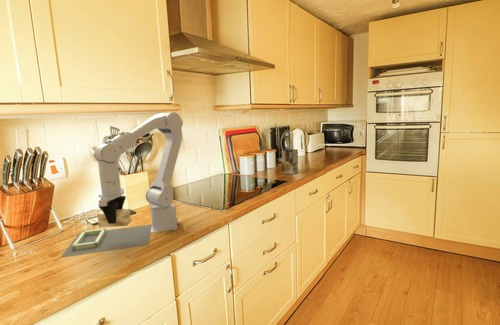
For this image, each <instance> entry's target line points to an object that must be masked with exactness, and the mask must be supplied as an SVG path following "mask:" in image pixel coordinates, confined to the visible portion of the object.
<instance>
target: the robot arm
mask: <svg viewBox="0 0 500 325" xmlns="http://www.w3.org/2000/svg"><path fill="white" fill-rule="evenodd" d="M183 124H184V121H183V119H182V118H181V116H180V113H179V114H178V112H174V111H172V112H158V113H156V114H154V115H152V116H151V117H150V118H148V119H147V120H145V121H144V122H143V123H141V124H140V125H138V126H137V127H135V128H134V129H133V130H131V131H130V130H129V131H128V130H124V131H123V130H121V131H119V132H118V135H116V136H115V137H113V138H111V139H107V140H106V141H105V142H106V143H101V144H98V145H97V146H96V148H95V149H94V151H93V152H94V153H93V157H94V158H95V160H96V161H97V166H98V173H99V174H98V175H99V183H100V188H101V190H100V191H101V193H100V194H98V197H99V198H100V199H99V200H98V208H99V209H100V210H101V211H103V213H104V214H105V216H106V219H107V221H108V223H109V224H114V223H116V211H117V209H124V203H125V200H126V198H127V197H126V195H124V194H125V190H124V188H123V187H122V186H121V178H120V170H119V163H118V161H119V159H120V157H121V156H122V154H123V155H124V154H125V153H126V152H127V151H129V150H130V149H131V148H133V147H135V146H136V145H137V141H138V140H139V139H141V138H142V137H144V136H146V135H148V134H149V133H151V132H152V131H154V130H158V131H159V132H161V133H162V135H163V136H164V137H165V139H166V141H165V146H164V149H163V151H162V152H163V153H162V156H161V160H160V162H159V166H158V171H157V174H156V178H155V179H154V180H152V182H151V183H150V186H149V188H148V189H147V190H146V192H145V201H147V202H148V203H149V207H150V208H149V209H150V218H151V225H152V228H151V234H153V233H160V232H167V231H175V230H178V223H179V221H178V220H179V219H178V217H177V216H178V215H177V208H176V207H177V206H176V204H173V201H174V190H175V189H174V186H173V185H172V183H171V182H172V178H173V174H174V171H175V168H176V163H177V160H178V156H179V152H180V148H181V146H182V141H183V131H182V127H183Z"/></svg>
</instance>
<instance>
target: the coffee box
mask: <svg viewBox="0 0 500 325" xmlns="http://www.w3.org/2000/svg"><path fill="white" fill-rule="evenodd" d="M298 153H299V152H298V149H293V148H285V149H282V150H281V162H282V163H281V165H282V166H281V168H282V169H281V170H282V174H286V173H289V174H288V175H296V174H298V173H299V160H298V159H299V158H298V156H299V155H298ZM295 173H296V174H295Z"/></svg>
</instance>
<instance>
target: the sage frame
mask: <svg viewBox="0 0 500 325" xmlns="http://www.w3.org/2000/svg"><path fill="white" fill-rule="evenodd" d="M106 230H107V228H100V229H98V228H97V229H93V230H92V229H91V230H85V231H84V230H83V231H82V232H81V233H80V234H81V235H80V236H79V237H78V239H77V240H76V241H75V242H74V244H73V245H72V250H79V249H86V248H93V247H98V246H99V244H100V242H101V241H102V239H103V237H104V235H105V234H106ZM97 234H99V236H98V237H97V239H96V241H95V242H89V243H82V244H80V243H81V242H82V241H83V239H84V238H85V236H89V235H97Z"/></svg>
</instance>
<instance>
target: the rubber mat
mask: <svg viewBox="0 0 500 325" xmlns="http://www.w3.org/2000/svg"><path fill="white" fill-rule="evenodd" d="M151 228H152V224H145V225H144V224H143V225H137V226H129V227H122V228H114V229H106V234H105V235H104V237H103V239H102V241H101V242H100V244H99V246H98V247H93V248H86V249H79V250H72V245H73V244H74V242H75V241H76V240H77V239H78V237H79V236H80V235H81V233H78V234H77V235H76V236H75V238H74V239H73V241H72V242H71V243H70V245H69V246H68V247H67V248H66V250H64V252H63V253H62V254H61V256H60V257H59V258H68V257H73V256H79V255H80V256H81V255H87V254H95V253H101V252H102V253H103V252H108V251H116V250H121V249H122V250H123V249H128V248H129V249H130V248H135V247H136V248H137V247H144V246H149V243H150V238H151V234H152V233H151ZM98 236H99V234H97V235H89V236H85V238H84V239H83V241H82V242H81V243H80V244H82V243H89V242H95V241H96V239H97V237H98Z"/></svg>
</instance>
